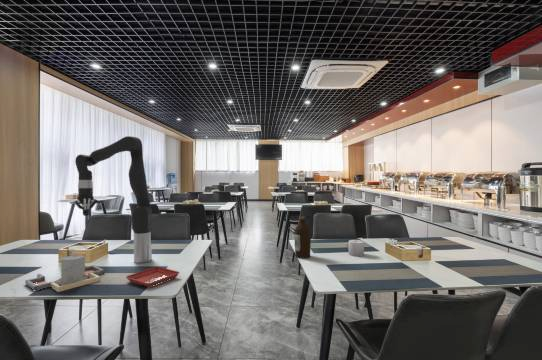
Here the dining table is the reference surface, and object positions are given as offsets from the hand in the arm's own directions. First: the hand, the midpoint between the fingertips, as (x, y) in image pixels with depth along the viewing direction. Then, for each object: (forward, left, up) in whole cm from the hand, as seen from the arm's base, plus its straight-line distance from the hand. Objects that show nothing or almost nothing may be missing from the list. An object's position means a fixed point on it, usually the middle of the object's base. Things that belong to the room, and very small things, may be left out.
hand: (85, 215), depth 178 cm
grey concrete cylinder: (-13, +41, -27) cm, 51 cm away
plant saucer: (-50, +43, -28) cm, 71 cm away
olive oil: (-132, +13, -27) cm, 136 cm away
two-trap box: (-8, +36, -27) cm, 46 cm away
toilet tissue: (-168, +12, -27) cm, 170 cm away
